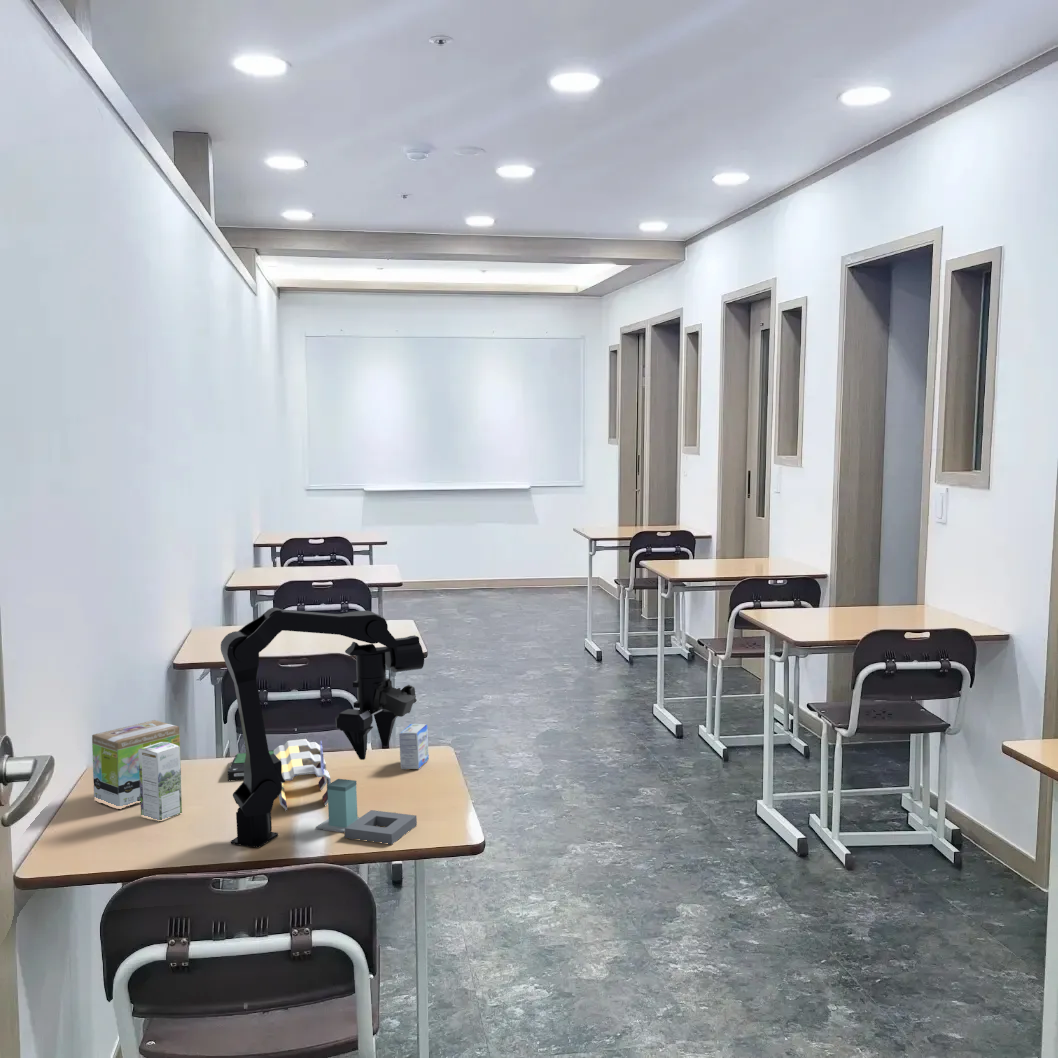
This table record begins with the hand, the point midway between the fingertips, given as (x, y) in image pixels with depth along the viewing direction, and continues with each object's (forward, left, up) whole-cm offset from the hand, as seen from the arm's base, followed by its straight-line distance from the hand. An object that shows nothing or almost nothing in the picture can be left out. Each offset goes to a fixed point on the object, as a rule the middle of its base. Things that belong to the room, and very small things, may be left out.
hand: (374, 752), depth 203 cm
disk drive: (+18, +42, -14) cm, 48 cm away
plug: (-6, +4, -13) cm, 15 cm away
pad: (-6, +5, -13) cm, 15 cm away
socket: (-7, -5, -13) cm, 16 cm away
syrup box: (-13, +42, -13) cm, 46 cm away
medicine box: (+32, +8, -13) cm, 36 cm away
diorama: (+9, +24, -14) cm, 29 cm away
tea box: (-5, +55, -13) cm, 57 cm away
